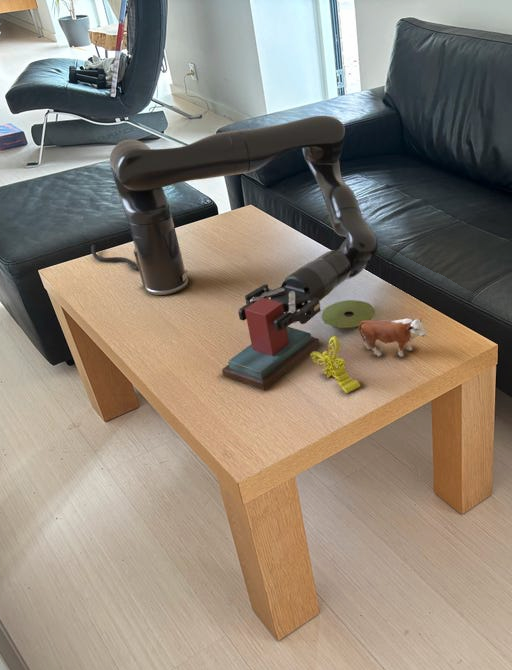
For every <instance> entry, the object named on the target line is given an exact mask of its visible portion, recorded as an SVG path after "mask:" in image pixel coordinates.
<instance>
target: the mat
mask: <svg viewBox="0 0 512 670" xmlns="http://www.w3.org/2000/svg"><path fill="white" fill-rule="evenodd" d="M375 315H376V309H375V307H374V306H373V305H372V304H370V303H369V302H366V301H363V300H362V301H361V300H356V299H353V300H352V299H349V300H347V299H346V300H342V301H337V302H334V303H332V304H330V305H328V306H327V307H325V308H324V309H323V311H322V313H321V320H322V322H324V323H325V324H327V325H328V326H330V327H334V328H339V329H340V328H341V329H342V328H344V329H345V328H346V329H347V328H355V327H356V328H357V327H359V324H360V323H361V322H362V321H365V320H373V318H374V317H375Z"/></svg>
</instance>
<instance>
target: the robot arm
mask: <svg viewBox="0 0 512 670" xmlns="http://www.w3.org/2000/svg"><path fill="white" fill-rule="evenodd" d="M345 137H346V128H345V125H344V123H343V122H342V121H341V120H340V119H338V118H336V117H333V116H330V115H314V116H308V117H305V118H301V119H297V120H293V121H289V122H285V123H280V124H274V125H273V124H272V125H269V126H261V127H256V128H249V129H247V128H246V129H237V130H231V131H223V132H218V133H213V134H210V135H208V136H205V137H202V138H200V139H198V140H196V141H194V142H192V143H189V144H187V145H182V146H178V147H169V148H150V147H149V146H148V145H147V144H146V143H144V142H142V141H140V140H137V139H125V140H122V141H120V142H118V143H116V144H115V146H114V147H113V148H112V150H111V152H110V155H109V166H110V170H111V174H112V177H113V181H114V184H115V187H116V190H117V194H118V197H119V201H120V204H121V207H122V209H123V212H124V215H125V217H126V222H127V224H128V228H129V233H130V234H131V239H132V242H133V246H134V249H133V255H134V257H135V258H134V259H135V261H136V265H135V263H134V262H133V261H132V259H129V258H127V257H122V256H120V257H119V256H114V257H104V256H103V257H102V256H98V254H97V252H96V245H95V244H91V247H90V249H91V254H92V257H93V258H94V259H95V260H97V261H99V262H124V263H127V264H128V265H129V266H130V268H131V269H132V270H135V271H138V272H139V275H140V276H139V277H140V279H141V282H142V287H143V288H145V290H146V292H147V293H149V294H150V295H155V296H166V295H171V294H175V293H178V292H180V291H182V290H184V289H186V287H188V285H189V279H188V276H189V273H188V270H187V269H186V268H185V264H184V260H183V257H182V252H181V247H180V244H179V239H178V236H177V231H176V228H175V224H174V219H173V215H172V212H171V207H170V203H169V201H168V197H167V196H166V193H165V190H164V188H166V187H170V186H173V185H177V184H181V183H185V182H189V181H197V180H198V181H199V180H206V179H214V178H220V177H228V176H235V175H242V174H248V173H252V172H256V171H259V170H261V169H262V168H264V167H266V166H268V165H269V164H271V163H272V162H274V161H275V160H277V159H279V158H280V157H282V156H283V155H285V154H287V153H289V152H293V151H296V150H300V149H301V151H302V155H303V158H304V161H305V162H306V164H307V166H308V168H309V170H310V171H311V173H312V176H313V177H314V180H315V181H316V183H317V185H318V187H319V190H320V192H321V194H322V197H323V200H324V203H325V207H326V210H327V213H328V217H329V220H330V223H331V226H332V229H333V231H334V232H335V233H336V234H337V235H338V236H340V237H346V238H345V239H344V240H343V242H342V243H341V245H340V247H339V248H338V249H337V250H336V249H333V250H329V251H326V252H325V253H323V254H322V255H320V256H318V257H317V258H316V259H314V260H312V261H309V262H307V263H306V264H304V265H303V266H301V267H299V268H298V269H297V270H295V271H294V272H292V273H290V275H288V276H286V277H285V278H284V279H283V281H282V284H281V286H279V287H276V288H273V289H272V288H270V287H269V285H268V284H267V283H266V284H262V285H260V286H259V287H257V288H255V289H254V290H252V291H251V292H249V293H247V294H245V295H244V299H245V304H244V305H243V306H242V307H240V308H239V309H238V312H237V313H238V317H239V320H241V321H247V319H246V314H245V309H246V308H247V307H249V306H250V305H252V304H253V303H255V302H256V301H257V300H259V299H260V298H266V299H270V300H273V301H277V302H280V303H283V309H284V314H283V315H281V316H280V317H279V318H277V319H276V320H275V321H274V326H275V330H276V331H281V330H282V329H285V328H286V327H287V326H288V327H290V326H291V324H296V323H297V322H299V323H300V325H305V324H307V323H308V322H310V320H311V319H313V318H314V317H315V316H316V315H317V314H319V313H320V312H321V303H320V301H322V300H323V299H324V298H326V297H327V296H329V294H331V292H333V291H334V290H335V289H336V288H337V287H338V286H341V284H343V283H344V282H345V281H348V280H350V279H353V278H355V277H356V276H358V275H359V274H361V273H362V272H363V271H364V269H365V268H367V266H368V265H369V263H370V262H371V260H372V259H373V258H374V257H375V255H376V254H377V251H378V246H379V243H378V237H377V236H376V234H375V232H374V231H373V229H372V228H371V227H370V225H369V223H367V221H366V220H365V219H364V217H363V214H362V212H361V208H360V204H359V201H358V199H357V197H356V195H355V193H354V191H353V189H352V188H351V187H350V186H349V185H348V184H347V183H346V182H345V180H344V179H343V176H342V173H341V166H340V159H341V155H342V151H343V146H344V143H345Z"/></svg>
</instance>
